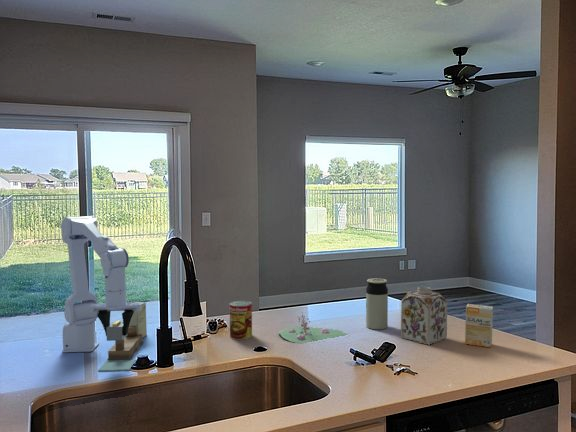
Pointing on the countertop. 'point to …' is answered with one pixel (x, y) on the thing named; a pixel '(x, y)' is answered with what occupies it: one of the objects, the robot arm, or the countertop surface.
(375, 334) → the countertop surface
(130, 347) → the hand plane
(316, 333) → the plant
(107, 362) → the mat
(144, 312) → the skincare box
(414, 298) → the decorative jar
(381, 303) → the travel mug
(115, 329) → the lever cap
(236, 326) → the canned food
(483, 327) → the supplement box
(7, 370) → the countertop surface
